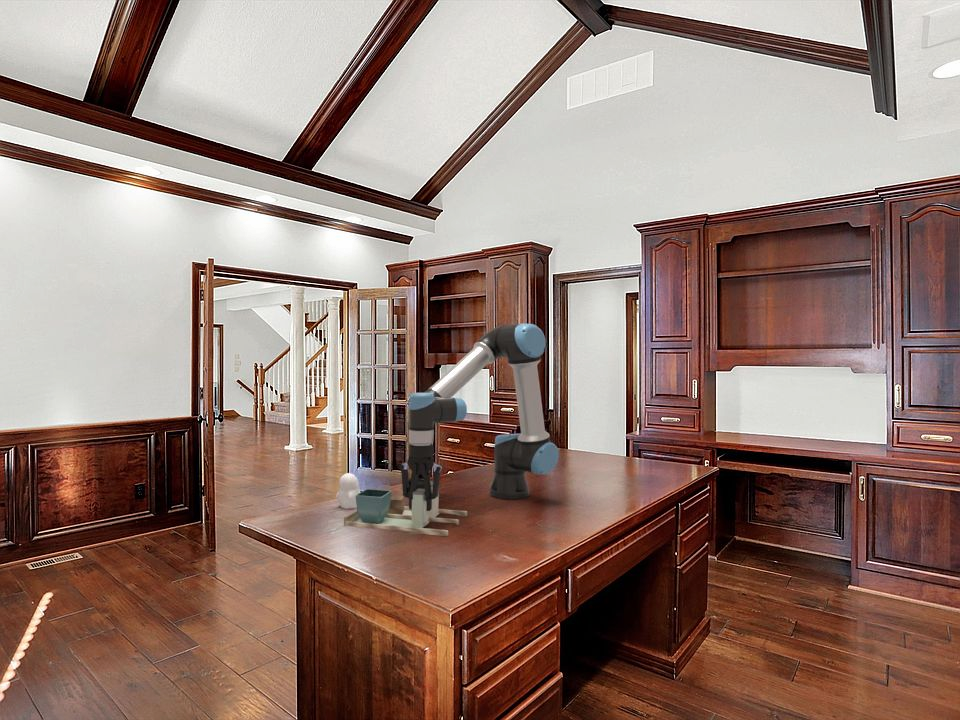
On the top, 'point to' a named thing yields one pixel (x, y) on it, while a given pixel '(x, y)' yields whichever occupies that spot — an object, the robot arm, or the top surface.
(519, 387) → the robot arm
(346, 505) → the figurine
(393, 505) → the walnut block
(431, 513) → the cream strip
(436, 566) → the top surface
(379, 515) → the flower pot
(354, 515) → the lane frame
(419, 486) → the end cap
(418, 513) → the sage strip
